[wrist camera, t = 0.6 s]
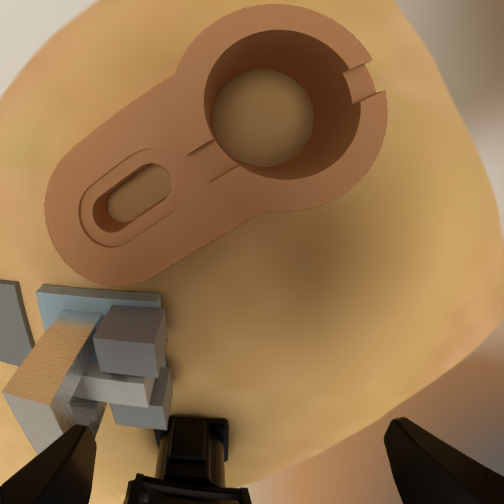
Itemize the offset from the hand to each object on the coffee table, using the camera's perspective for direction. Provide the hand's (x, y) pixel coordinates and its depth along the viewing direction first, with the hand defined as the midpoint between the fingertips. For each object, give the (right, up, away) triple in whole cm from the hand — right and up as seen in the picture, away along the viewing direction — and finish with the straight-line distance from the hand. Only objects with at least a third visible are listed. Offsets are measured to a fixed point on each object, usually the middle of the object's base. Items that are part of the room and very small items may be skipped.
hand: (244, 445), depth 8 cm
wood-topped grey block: (-11, -1, +12) cm, 16 cm away
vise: (-10, -1, +13) cm, 17 cm away
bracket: (-3, +11, +10) cm, 15 cm away
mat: (-21, 0, +12) cm, 24 cm away
